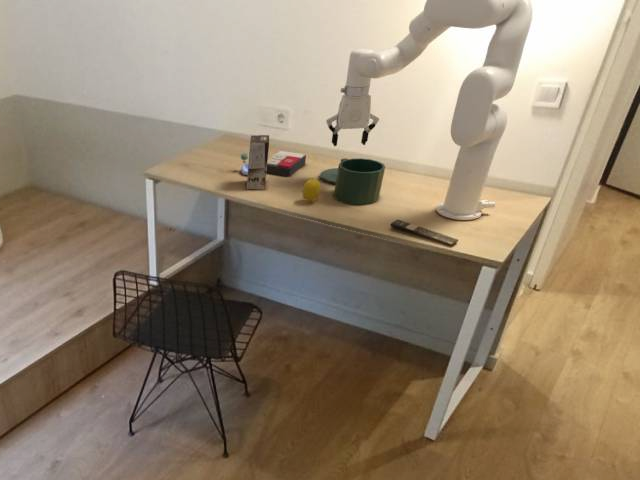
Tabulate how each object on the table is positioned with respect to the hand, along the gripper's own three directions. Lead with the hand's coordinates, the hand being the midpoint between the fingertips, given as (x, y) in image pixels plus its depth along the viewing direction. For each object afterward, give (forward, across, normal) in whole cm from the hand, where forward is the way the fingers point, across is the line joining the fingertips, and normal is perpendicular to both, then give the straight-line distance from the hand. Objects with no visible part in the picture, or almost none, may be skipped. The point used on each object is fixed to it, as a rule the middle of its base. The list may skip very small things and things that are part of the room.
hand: (348, 144), depth 213 cm
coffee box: (+12, -32, -4) cm, 34 cm away
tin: (+12, 0, -17) cm, 21 cm away
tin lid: (+11, -1, +1) cm, 11 cm away
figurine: (+12, -32, +9) cm, 36 cm away
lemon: (+12, -16, -21) cm, 29 cm away
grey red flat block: (+12, -20, +13) cm, 26 cm away
